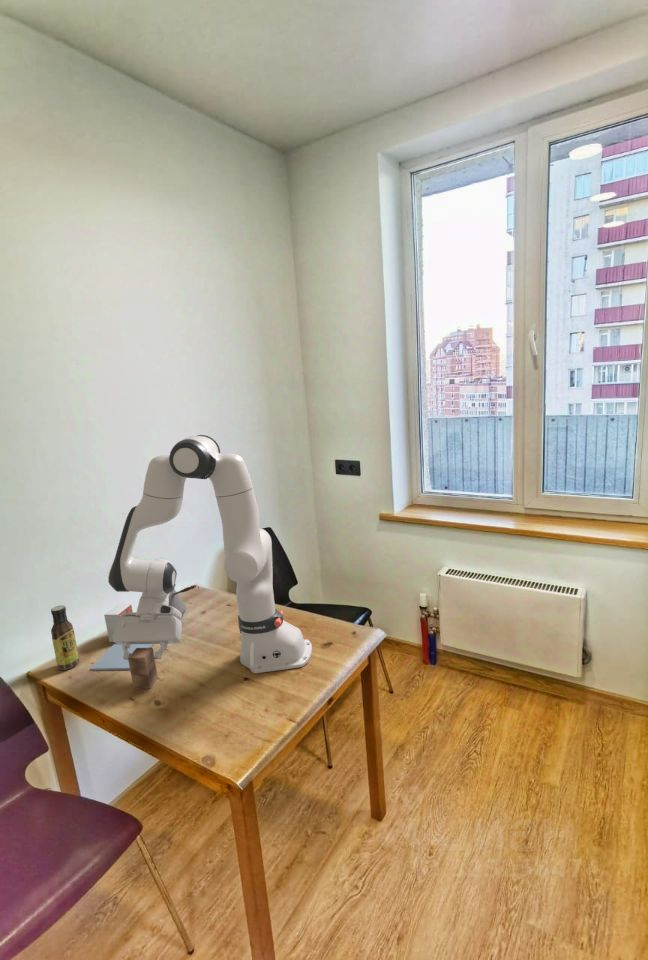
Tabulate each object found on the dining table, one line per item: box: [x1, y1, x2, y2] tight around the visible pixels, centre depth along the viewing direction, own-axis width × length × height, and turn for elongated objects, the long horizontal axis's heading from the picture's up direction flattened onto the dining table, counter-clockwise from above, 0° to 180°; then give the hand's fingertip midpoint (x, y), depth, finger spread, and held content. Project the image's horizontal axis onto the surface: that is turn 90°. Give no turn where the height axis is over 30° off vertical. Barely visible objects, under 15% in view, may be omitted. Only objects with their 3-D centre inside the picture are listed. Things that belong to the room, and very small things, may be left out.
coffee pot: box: [169, 583, 200, 616], centre depth 174 cm, size 21×12×15 cm, turn 62°
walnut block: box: [128, 647, 159, 690], centre depth 137 cm, size 5×5×10 cm
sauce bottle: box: [50, 604, 80, 671], centre depth 149 cm, size 6×6×20 cm
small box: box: [104, 603, 134, 643], centre depth 165 cm, size 8×6×10 cm
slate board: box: [89, 643, 154, 671], centre depth 153 cm, size 14×14×1 cm
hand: (141, 659), depth 137 cm, fingers open, 8 cm apart
